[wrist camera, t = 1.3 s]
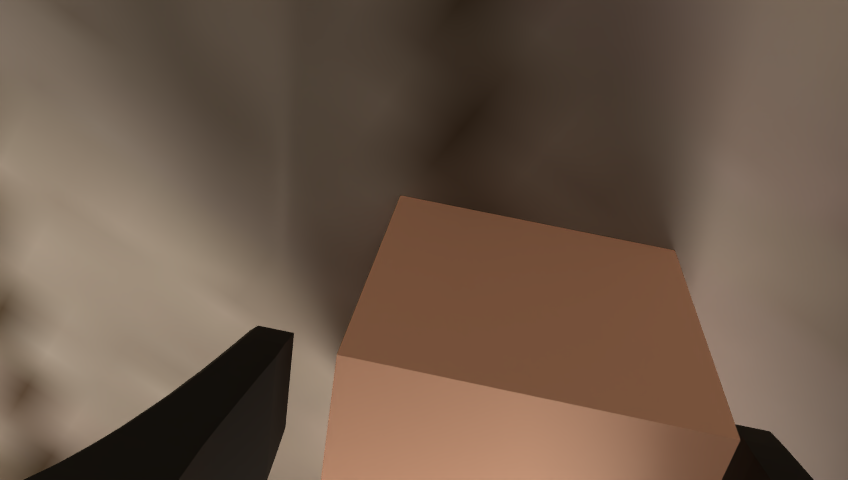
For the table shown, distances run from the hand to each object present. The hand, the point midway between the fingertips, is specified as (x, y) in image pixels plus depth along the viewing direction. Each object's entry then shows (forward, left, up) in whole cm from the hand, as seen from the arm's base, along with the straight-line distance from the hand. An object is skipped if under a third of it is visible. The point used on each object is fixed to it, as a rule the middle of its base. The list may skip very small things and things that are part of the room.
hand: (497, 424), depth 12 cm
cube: (0, 0, -3) cm, 3 cm away
